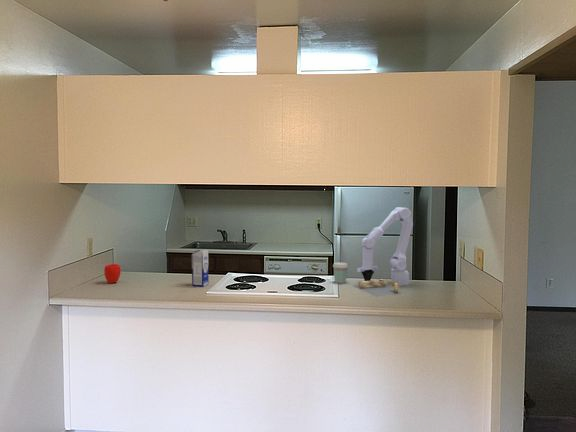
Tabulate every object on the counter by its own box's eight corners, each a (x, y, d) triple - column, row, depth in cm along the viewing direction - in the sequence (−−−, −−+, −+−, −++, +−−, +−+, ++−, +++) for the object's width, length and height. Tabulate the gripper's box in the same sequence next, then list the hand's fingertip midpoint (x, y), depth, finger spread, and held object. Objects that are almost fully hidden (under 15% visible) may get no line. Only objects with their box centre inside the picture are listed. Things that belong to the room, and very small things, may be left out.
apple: (119, 284, 254) (119, 265, 253) (103, 284, 252) (102, 265, 251) (121, 280, 263) (121, 262, 262) (106, 281, 261) (105, 263, 260)
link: (382, 284, 249) (382, 279, 249) (387, 286, 245) (387, 280, 245) (357, 286, 244) (357, 281, 243) (361, 288, 240) (361, 282, 239)
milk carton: (203, 287, 247) (202, 251, 246) (192, 286, 249) (191, 250, 248) (208, 284, 254) (208, 249, 253) (197, 283, 256) (197, 248, 255)
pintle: (382, 279, 247) (382, 278, 247) (384, 280, 246) (384, 279, 245) (379, 279, 247) (379, 278, 247) (380, 280, 245) (381, 279, 245)
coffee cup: (350, 285, 253) (350, 264, 252) (336, 286, 250) (336, 265, 249) (343, 282, 261) (344, 261, 260) (330, 283, 258) (330, 262, 257)
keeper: (388, 290, 236) (388, 280, 236) (392, 290, 237) (393, 280, 236) (394, 293, 230) (395, 283, 229) (399, 293, 230) (399, 283, 230)
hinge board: (380, 285, 253) (380, 283, 253) (406, 295, 230) (406, 293, 230) (352, 287, 247) (352, 285, 247) (376, 298, 224) (376, 296, 224)
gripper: (371, 257, 255) (370, 280, 256) (353, 259, 246) (352, 284, 247) (380, 258, 249) (380, 282, 250) (362, 261, 240) (362, 286, 241)
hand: (367, 283), depth 248 cm, fingers closed
